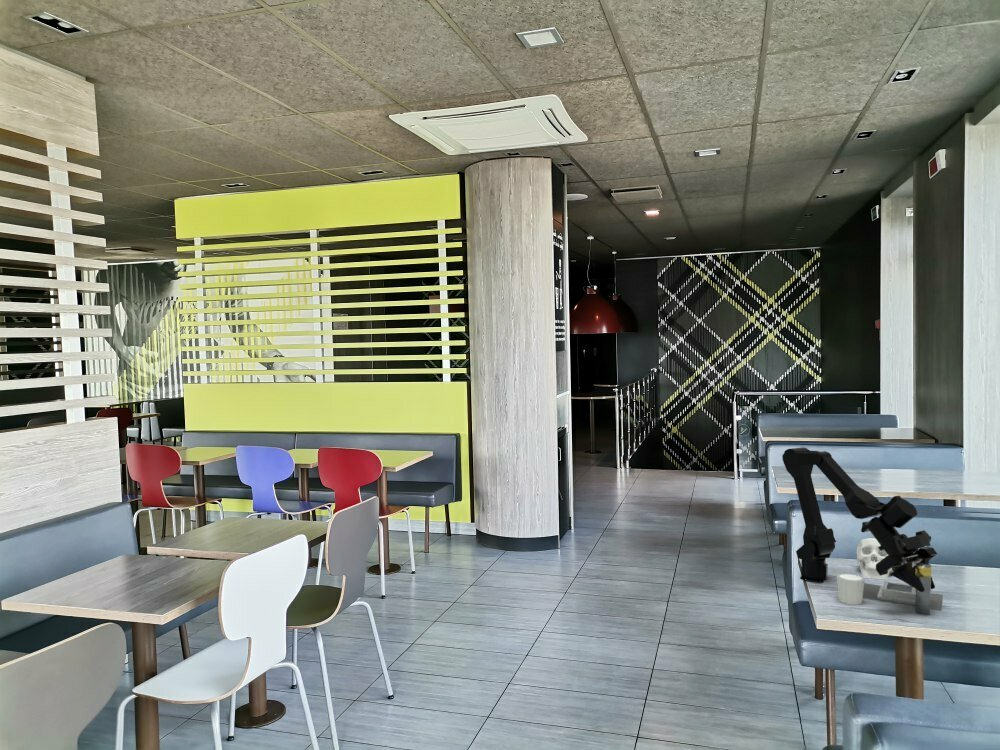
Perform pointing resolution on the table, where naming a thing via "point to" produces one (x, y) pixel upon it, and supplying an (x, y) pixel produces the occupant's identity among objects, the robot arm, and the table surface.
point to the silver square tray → (897, 593)
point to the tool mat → (873, 590)
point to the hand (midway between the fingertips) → (928, 589)
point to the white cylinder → (850, 588)
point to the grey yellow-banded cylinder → (924, 597)
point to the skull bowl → (870, 558)
